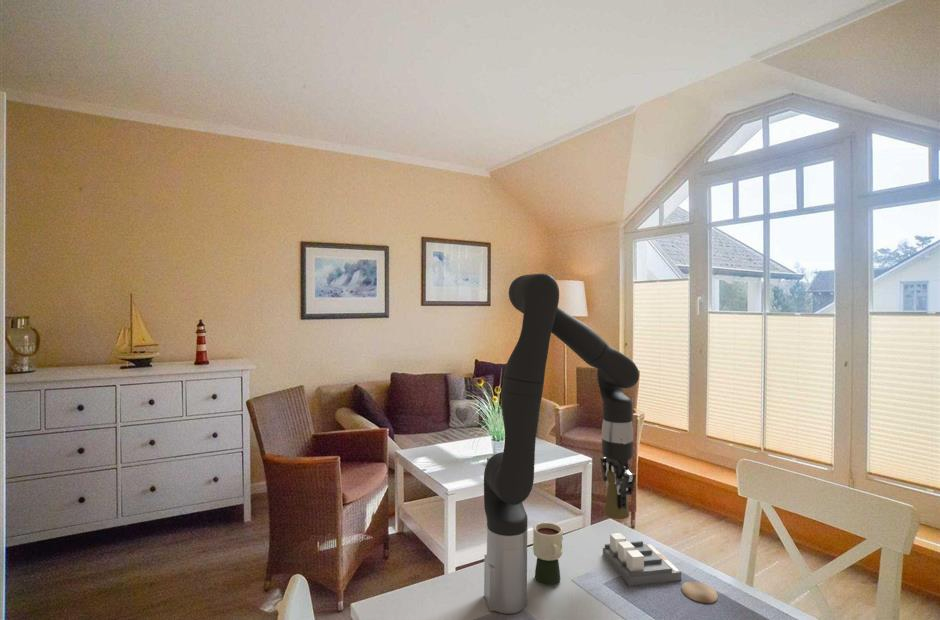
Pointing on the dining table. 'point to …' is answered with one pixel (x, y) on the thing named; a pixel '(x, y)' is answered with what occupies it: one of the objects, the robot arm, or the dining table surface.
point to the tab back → (616, 541)
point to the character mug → (547, 552)
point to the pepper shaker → (614, 499)
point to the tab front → (635, 560)
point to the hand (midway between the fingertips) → (616, 504)
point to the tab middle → (624, 550)
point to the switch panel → (654, 566)
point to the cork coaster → (699, 592)
